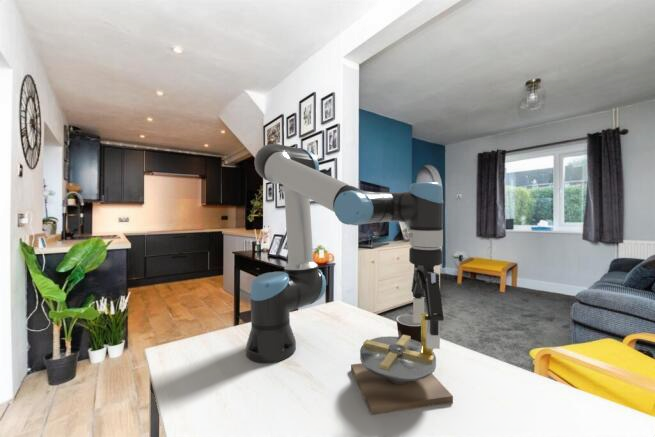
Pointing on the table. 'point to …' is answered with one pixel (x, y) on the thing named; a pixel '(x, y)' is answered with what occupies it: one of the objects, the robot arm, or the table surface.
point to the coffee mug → (408, 327)
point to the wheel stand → (398, 391)
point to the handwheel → (399, 356)
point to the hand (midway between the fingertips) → (425, 334)
